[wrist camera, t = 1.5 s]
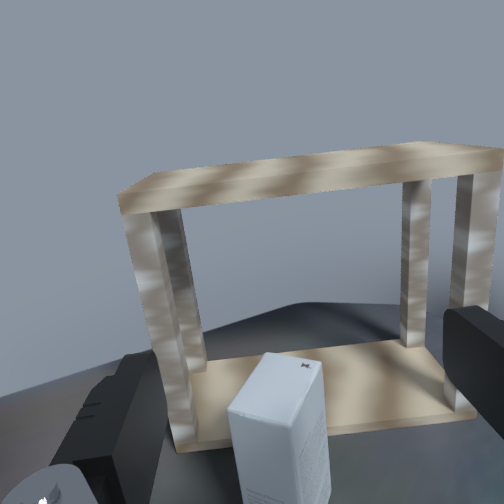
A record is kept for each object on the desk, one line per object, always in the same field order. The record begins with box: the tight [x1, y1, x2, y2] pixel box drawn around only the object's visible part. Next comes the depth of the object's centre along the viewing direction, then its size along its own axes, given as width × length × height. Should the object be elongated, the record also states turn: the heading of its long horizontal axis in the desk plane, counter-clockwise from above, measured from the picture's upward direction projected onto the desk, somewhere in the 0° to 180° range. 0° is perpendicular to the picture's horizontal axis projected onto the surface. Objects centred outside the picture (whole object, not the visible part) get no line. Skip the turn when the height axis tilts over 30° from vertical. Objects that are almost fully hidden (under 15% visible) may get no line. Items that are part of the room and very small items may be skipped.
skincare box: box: [226, 352, 331, 504], centre depth 25 cm, size 6×4×12 cm
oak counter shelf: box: [117, 141, 504, 453], centre depth 35 cm, size 27×12×24 cm, turn 91°
